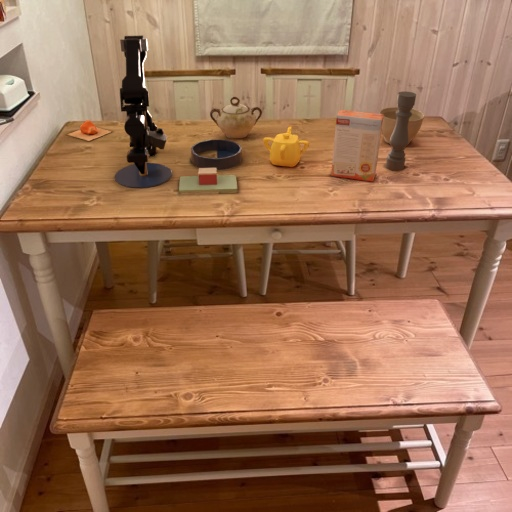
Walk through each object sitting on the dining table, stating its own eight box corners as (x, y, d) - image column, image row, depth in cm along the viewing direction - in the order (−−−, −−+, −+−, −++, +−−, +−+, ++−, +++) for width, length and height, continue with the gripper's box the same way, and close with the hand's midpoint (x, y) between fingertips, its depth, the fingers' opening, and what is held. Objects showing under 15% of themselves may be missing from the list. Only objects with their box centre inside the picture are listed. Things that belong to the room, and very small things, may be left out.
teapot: (258, 158, 183) (259, 130, 177) (289, 151, 189) (290, 123, 183) (279, 172, 173) (280, 143, 168) (310, 164, 179) (313, 136, 173)
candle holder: (405, 165, 179) (418, 92, 165) (401, 172, 175) (415, 98, 161) (387, 162, 181) (399, 90, 167) (383, 168, 177) (395, 95, 163)
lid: (111, 190, 161) (108, 173, 158) (119, 166, 176) (116, 149, 173) (170, 189, 163) (169, 171, 159) (173, 165, 178) (172, 148, 174)
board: (179, 194, 160) (178, 190, 159) (180, 180, 168) (180, 176, 167) (237, 192, 161) (237, 188, 160) (235, 178, 169) (235, 174, 168)
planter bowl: (424, 139, 200) (429, 111, 194) (410, 152, 188) (416, 123, 182) (384, 130, 207) (388, 103, 201) (369, 143, 195) (373, 115, 189)
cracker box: (375, 175, 172) (384, 113, 161) (372, 182, 168) (382, 119, 156) (334, 169, 176) (340, 108, 164) (330, 176, 171) (336, 114, 160)
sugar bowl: (210, 142, 195) (209, 103, 186) (211, 128, 207) (209, 90, 199) (262, 142, 196) (263, 102, 187) (260, 128, 208) (260, 90, 200)
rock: (89, 141, 195) (87, 130, 192) (66, 134, 200) (64, 124, 198) (112, 131, 203) (110, 121, 201) (90, 125, 208) (88, 115, 206)
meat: (199, 185, 162) (198, 173, 160) (199, 179, 165) (198, 168, 163) (217, 184, 162) (216, 173, 160) (216, 179, 165) (216, 167, 163)
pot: (191, 171, 173) (190, 159, 171) (192, 151, 188) (191, 139, 185) (242, 170, 175) (242, 158, 172) (240, 150, 189) (240, 138, 186)
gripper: (161, 135, 152) (166, 183, 161) (165, 114, 168) (169, 159, 177) (123, 136, 152) (130, 184, 160) (131, 115, 167) (136, 160, 176)
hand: (143, 171), depth 168 cm, fingers closed on lid, 3 cm apart
